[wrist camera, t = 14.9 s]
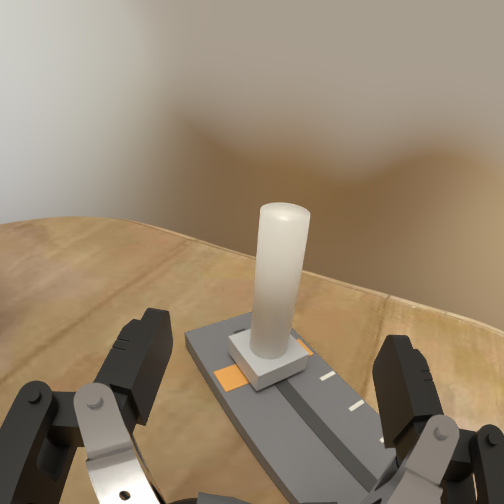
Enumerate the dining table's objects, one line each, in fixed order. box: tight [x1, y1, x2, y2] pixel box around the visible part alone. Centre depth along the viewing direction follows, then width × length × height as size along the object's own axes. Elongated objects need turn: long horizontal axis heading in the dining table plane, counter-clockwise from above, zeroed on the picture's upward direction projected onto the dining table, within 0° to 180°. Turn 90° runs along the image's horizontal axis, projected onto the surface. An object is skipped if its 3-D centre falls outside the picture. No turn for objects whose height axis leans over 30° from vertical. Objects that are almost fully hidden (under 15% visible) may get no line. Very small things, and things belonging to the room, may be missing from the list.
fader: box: [228, 203, 310, 391], centre depth 23 cm, size 5×5×14 cm
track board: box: [185, 312, 441, 504], centre depth 22 cm, size 28×10×2 cm, turn 30°
